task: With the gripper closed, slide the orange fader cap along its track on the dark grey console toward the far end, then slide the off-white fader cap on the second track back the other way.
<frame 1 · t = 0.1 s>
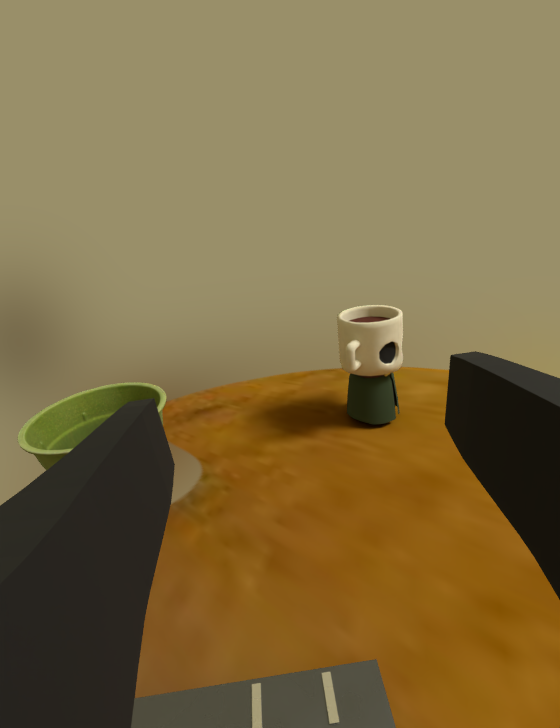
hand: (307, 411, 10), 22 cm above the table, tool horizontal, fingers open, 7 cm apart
plant pot: (130, 514, 39), on the table
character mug: (372, 416, 50), on the table
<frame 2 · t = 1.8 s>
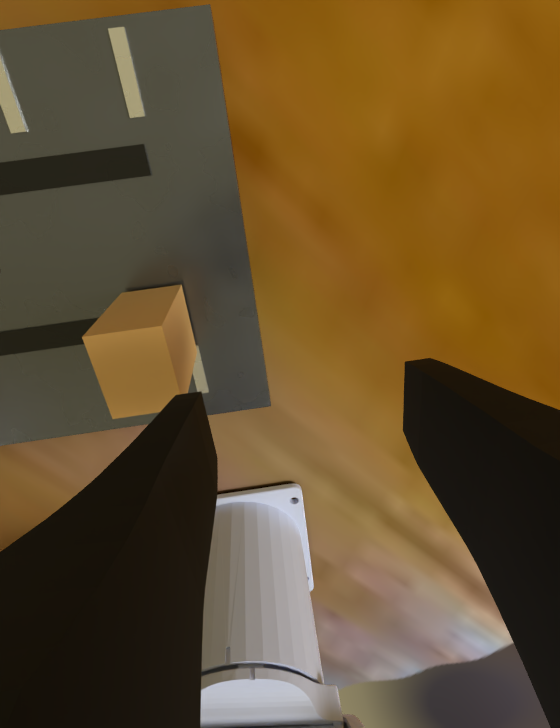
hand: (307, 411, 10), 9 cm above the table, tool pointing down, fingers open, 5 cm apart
fader a: (150, 345, 15), point 4 cm above the table, slide at 0.0 cm
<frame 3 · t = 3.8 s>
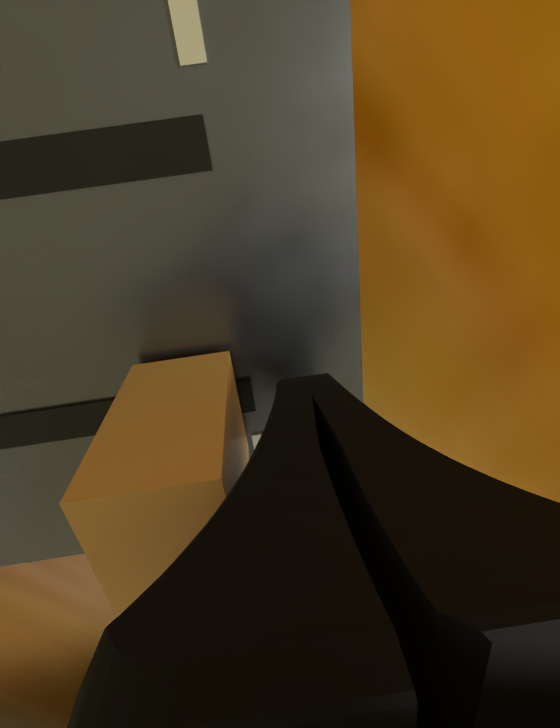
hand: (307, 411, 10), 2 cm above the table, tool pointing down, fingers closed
fader a: (183, 466, 9), point 4 cm above the table, slide at 0.6 cm, touching gripper
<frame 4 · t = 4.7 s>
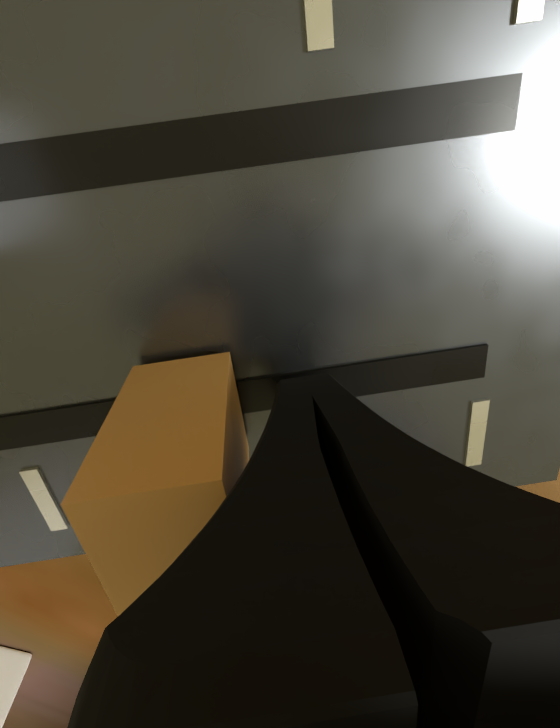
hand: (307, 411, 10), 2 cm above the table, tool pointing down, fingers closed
fader a: (183, 466, 9), point 4 cm above the table, slide at 7.0 cm, touching gripper
console: (179, 301, 11), on the table
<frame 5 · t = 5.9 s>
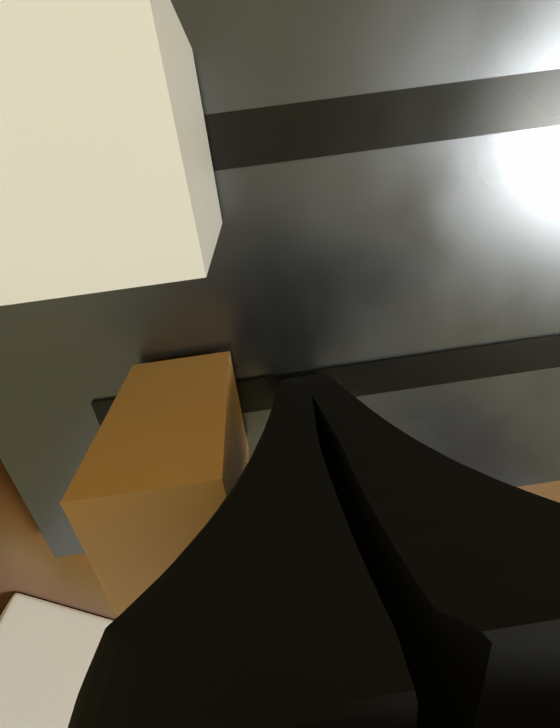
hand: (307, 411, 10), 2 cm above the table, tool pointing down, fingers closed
fader b: (116, 148, 6), point 4 cm above the table, slide at 0.0 cm
milk: (64, 645, 17), on the table
fader a: (183, 466, 9), point 4 cm above the table, slide at 12.4 cm, touching gripper
console: (377, 272, 11), on the table
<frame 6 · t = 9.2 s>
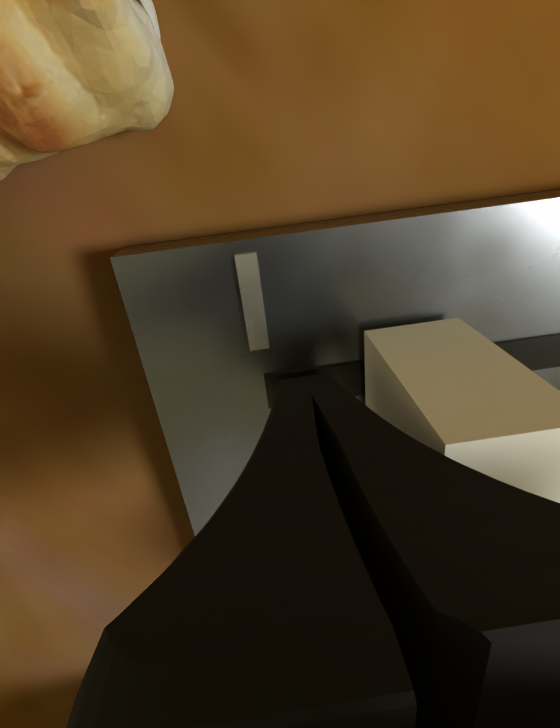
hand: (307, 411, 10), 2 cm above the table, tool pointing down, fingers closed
fader b: (448, 426, 9), point 4 cm above the table, slide at -0.8 cm, touching gripper
console: (510, 427, 14), on the table
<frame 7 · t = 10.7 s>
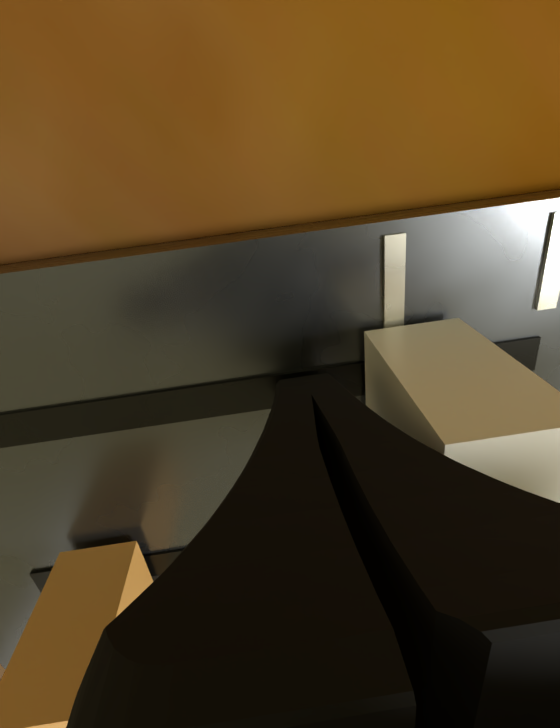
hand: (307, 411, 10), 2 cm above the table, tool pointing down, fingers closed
fader b: (448, 426, 9), point 4 cm above the table, slide at -9.4 cm, touching gripper
fader a: (90, 651, 11), point 4 cm above the table, slide at 12.4 cm
console: (262, 464, 14), on the table
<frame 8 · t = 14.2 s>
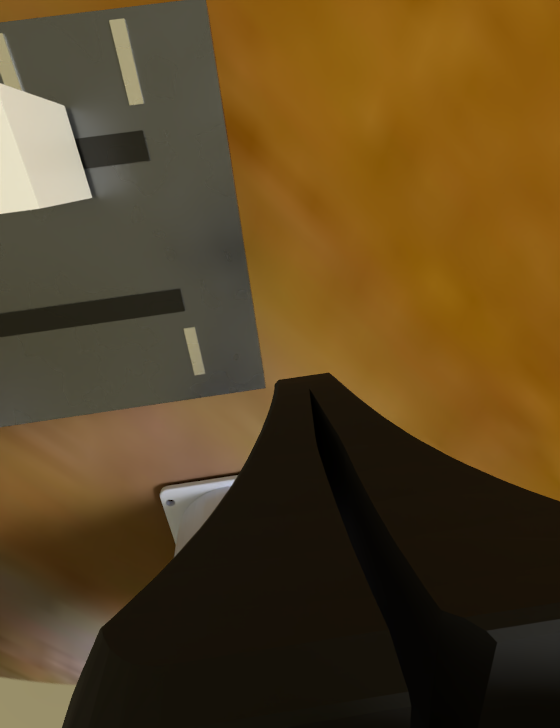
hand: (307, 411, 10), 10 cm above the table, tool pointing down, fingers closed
fader b: (15, 156, 13), point 4 cm above the table, slide at -9.4 cm
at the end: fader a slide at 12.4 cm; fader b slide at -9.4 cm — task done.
